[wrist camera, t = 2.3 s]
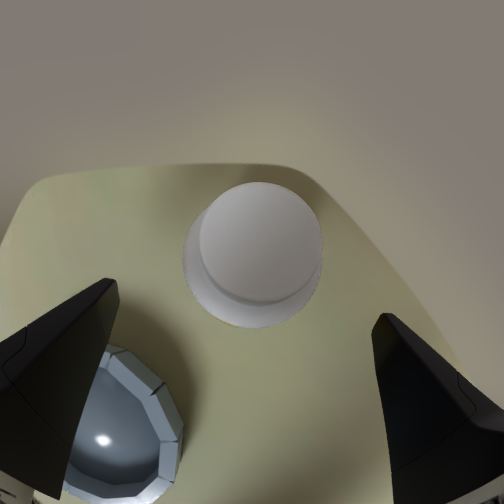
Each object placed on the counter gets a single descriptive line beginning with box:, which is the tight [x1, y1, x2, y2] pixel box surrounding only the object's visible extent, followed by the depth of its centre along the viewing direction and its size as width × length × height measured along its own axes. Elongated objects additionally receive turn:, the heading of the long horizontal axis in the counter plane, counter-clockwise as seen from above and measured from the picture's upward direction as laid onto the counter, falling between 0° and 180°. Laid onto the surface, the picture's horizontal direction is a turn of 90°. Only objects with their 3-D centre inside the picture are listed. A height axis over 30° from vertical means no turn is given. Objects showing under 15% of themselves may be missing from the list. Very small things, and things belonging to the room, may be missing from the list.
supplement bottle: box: [183, 182, 323, 328], centre depth 14 cm, size 6×6×10 cm
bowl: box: [62, 344, 184, 504], centre depth 14 cm, size 12×12×3 cm
